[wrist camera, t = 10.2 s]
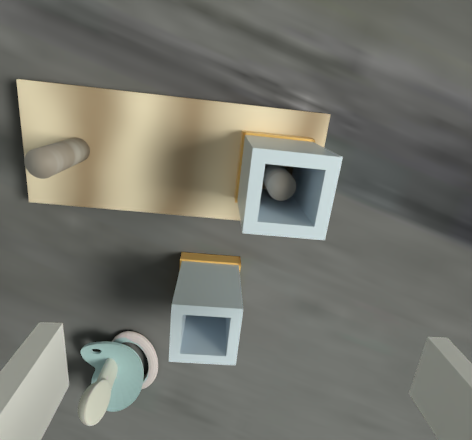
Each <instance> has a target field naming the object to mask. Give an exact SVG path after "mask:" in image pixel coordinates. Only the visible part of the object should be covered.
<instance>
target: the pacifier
mask: <svg viewBox="0 0 472 440" xmlns="http://www.w3.org/2000/svg"><path fill="white" fill-rule="evenodd" d="M124 342H131V343H134V344H136V345H137V346H139V347H140V348H141V349H142V350H143V352H144V353H145V355H146V357H147V360H148V366H149V369H148V372H147V374H146V375H145V376H144V369H143V364H142V361H141V359H140V357H139V355H138V354H137V353H136V352H135V351H134V350H133V349H132V348H130V347H129V346H126V345H124V344H121V343H124ZM92 349H99V350H101V351H100V352H95V351H93V350H92ZM80 353H81V356H82V357H83V359H84V360H85V361H86V362H88V363H89V364H90V365H92V366H94V367H95V372H94V374H93V377H92V381H91V385H90V386H89V387H88V388H87V389H86V390H85V391H84V393H83V394H82V396H81V398H80V401H79V405H78V415H79V418H80V420H81V421H82V422H83V423H84V424H85V425H88V426H93V425H95V424H97V423H98V422H99V421H100V420H101V418H102V417H103V415H104V414H105V412H106V410H107V411H112V412H114V411H120V410H123V409H124V408H126V407H128V406H129V405H130V404H132V403H133V402H134V401H135V400H136V398H137V397H138V395H139V393H140V391H141V389H144V388H146V387H148V386H149V385H151V383H152V382H153V381H154V380H155V378H156V375H157V372H158V358H157V355H156V352H155V349H154V348H153V346H152V344H151V343H150V342H149V341H148V339H147V338H145V337H144V336H143V335H141V334H139V333H137V332H134V331H126V332H122V333H120V334H118V335H117V336H115V338H114V339H113V340H112V342H108V341H102V342H92V343H88V344H86V345H85V346H84V347H83V348H82V349H81V352H80ZM111 389H112V390H111Z"/></svg>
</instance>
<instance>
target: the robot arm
mask: <svg viewBox="0 0 472 440" xmlns="http://www.w3.org/2000/svg"><path fill="white" fill-rule="evenodd" d="M68 387H69V377H68V368H67V359H66V350H65V340H64V331H63V323H49V322H39V323H38V325H37V326H36V327H35V328H34V330H33V331H32V332H31V333H30V335H29V336H28V337H27V339H26V340H25V341H24V342H23V344H22V345H21V346H20V347H19V349H18V350H17V351H16V352H15V354H14V355H13V356H12V357H11V359H10V360H9V361H8V363H7V364H6V365H5V366H4V368H3V369H2V370H1V371H0V440H41V439H42V437H43V435H44V433H45V431H46V429H47V427H48V425H49V424H50V422H51V420H52V418H53V416H54V414H55V412H56V410H57V408H58V406H59V404H60V402H61V400H62V398H63V396H64V394H65V393H66V391H67V389H68ZM409 395H410V396H411V398H412V400H413V401H414V403H415V404H416V406H417V407H418V409H419V411H420V412H421V414H422V415H423V417H424V418H425V420H426V422H427V423H428V425H429V426H430V428H431V429H432V431H433V432H434V434H435V436H436V437H437V439H438V440H472V363H471V362H470V361H469V360H468V359H467V358H466V357H465V356H464V355H463V354H462V353H461V352H460V351H459V350H458V349H457V347H456V346H455V345H454V344H453V343H452V342H451V341H450V340H449V339H448V338H444V337H427V340H426V343H425V346H424V349H423V352H422V355H421V358H420V361H419V364H418V367H417V370H416V373H415V376H414V379H413V382H412V385H411V388H410V391H409Z"/></svg>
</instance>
